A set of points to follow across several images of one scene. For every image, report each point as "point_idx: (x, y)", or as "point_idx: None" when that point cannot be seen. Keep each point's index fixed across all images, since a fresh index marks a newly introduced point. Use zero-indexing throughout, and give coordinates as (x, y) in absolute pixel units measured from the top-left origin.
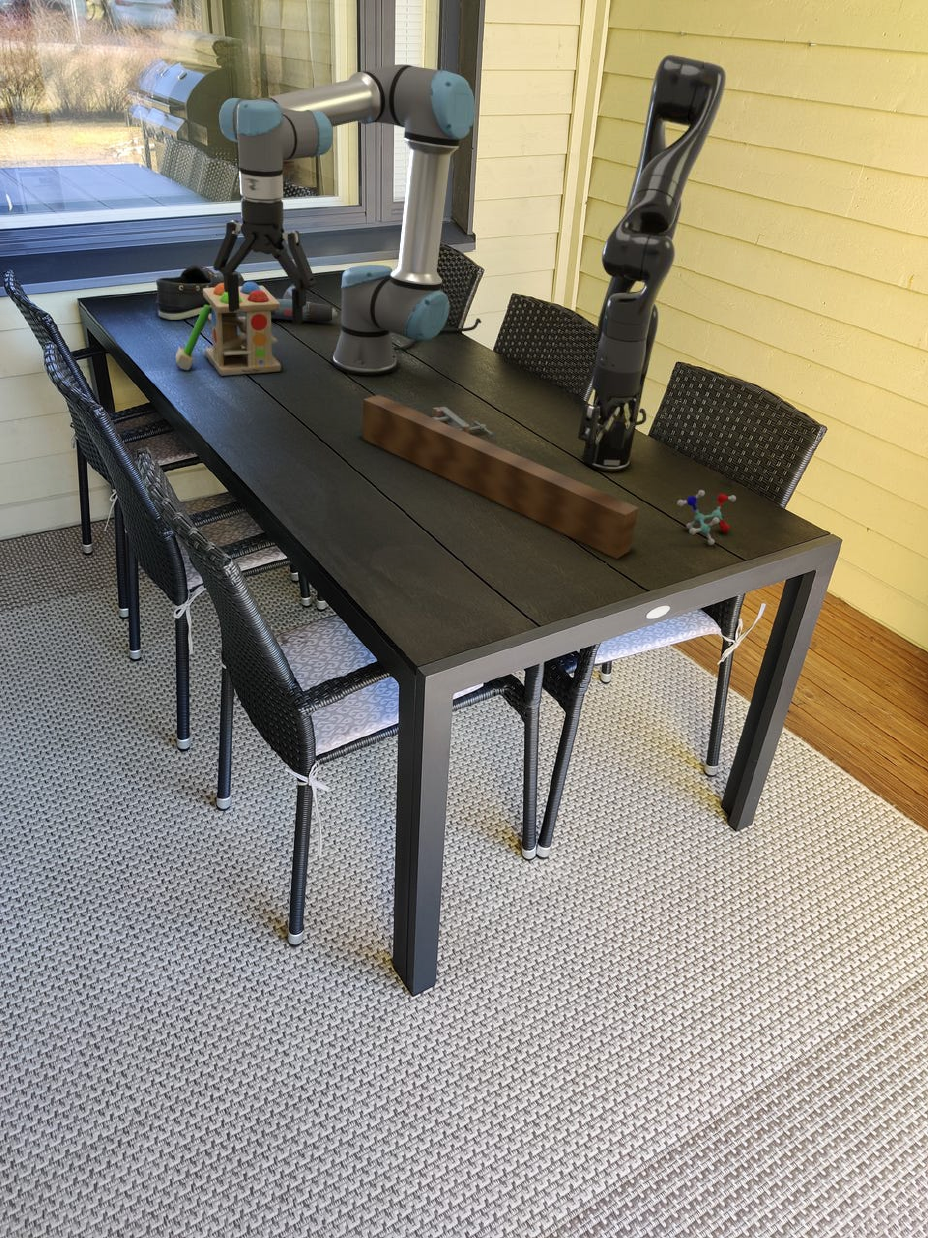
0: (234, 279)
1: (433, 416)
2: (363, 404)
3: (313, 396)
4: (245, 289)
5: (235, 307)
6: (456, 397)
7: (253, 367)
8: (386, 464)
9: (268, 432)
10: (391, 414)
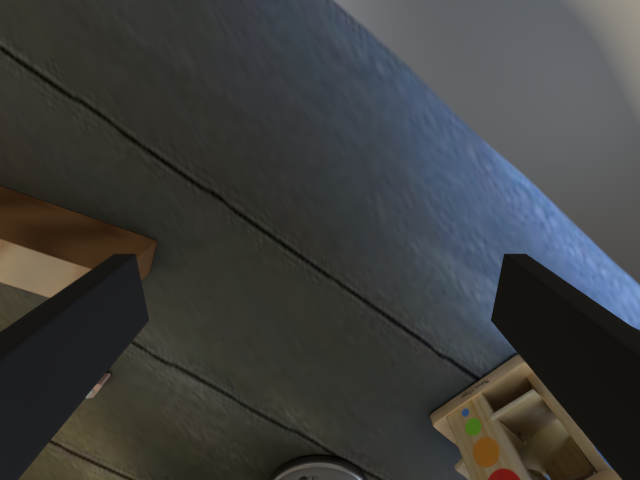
0: (634, 422)
1: (107, 373)
2: None
3: (330, 356)
4: None
5: (505, 292)
6: (129, 452)
7: (472, 395)
8: (52, 160)
9: (323, 178)
10: (21, 241)
